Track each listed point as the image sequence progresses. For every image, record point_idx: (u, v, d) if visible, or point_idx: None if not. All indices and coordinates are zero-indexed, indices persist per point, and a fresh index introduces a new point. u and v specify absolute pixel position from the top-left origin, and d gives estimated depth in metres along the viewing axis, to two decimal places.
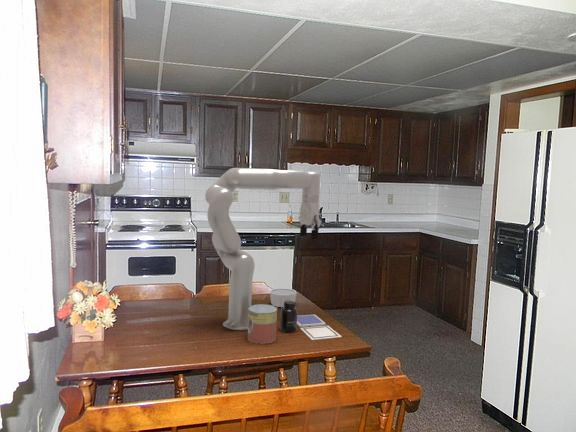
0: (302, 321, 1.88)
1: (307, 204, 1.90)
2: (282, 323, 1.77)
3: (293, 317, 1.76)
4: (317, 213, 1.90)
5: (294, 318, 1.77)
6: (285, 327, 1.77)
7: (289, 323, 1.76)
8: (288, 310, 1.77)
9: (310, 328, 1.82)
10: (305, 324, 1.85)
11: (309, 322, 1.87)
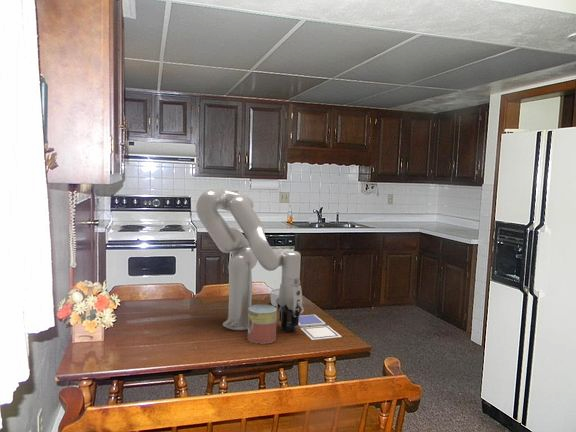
0: (302, 321, 1.88)
1: None
2: (282, 323, 1.77)
3: None
4: None
5: None
6: (285, 327, 1.77)
7: (289, 323, 1.76)
8: (288, 310, 1.77)
9: (310, 328, 1.82)
10: (305, 324, 1.85)
11: (309, 322, 1.87)
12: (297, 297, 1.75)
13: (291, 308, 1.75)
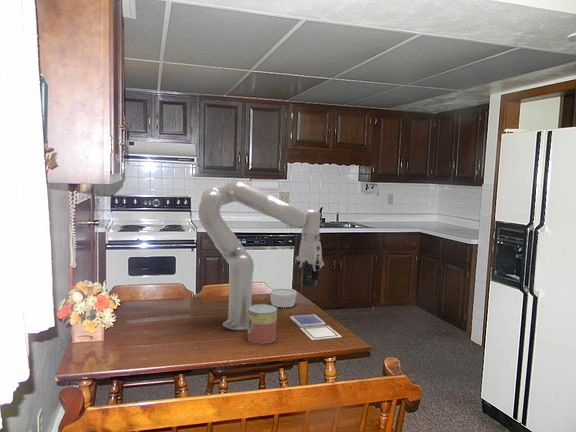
0: (302, 321, 1.88)
1: None
2: (303, 278, 1.86)
3: None
4: None
5: None
6: (305, 281, 1.86)
7: (310, 277, 1.85)
8: (309, 265, 1.86)
9: (310, 328, 1.82)
10: (305, 324, 1.85)
11: (309, 322, 1.87)
12: (317, 252, 1.84)
13: (311, 263, 1.84)
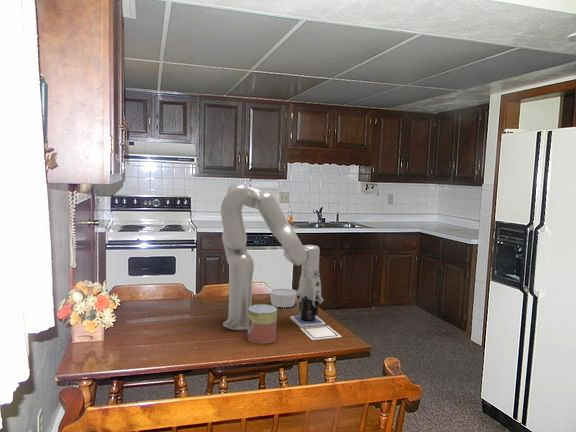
0: (302, 321, 1.88)
1: None
2: (303, 313, 1.89)
3: None
4: None
5: None
6: (305, 316, 1.88)
7: (309, 312, 1.88)
8: (308, 300, 1.88)
9: (310, 328, 1.82)
10: (305, 324, 1.85)
11: (309, 322, 1.87)
12: (316, 288, 1.86)
13: (311, 298, 1.87)
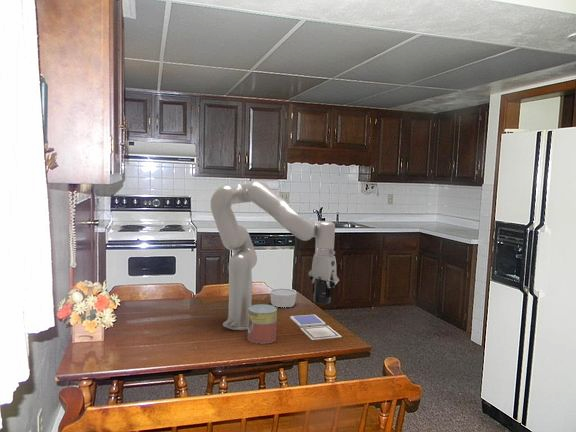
0: (302, 321, 1.88)
1: None
2: (317, 294, 1.74)
3: None
4: None
5: None
6: (319, 298, 1.74)
7: (324, 294, 1.73)
8: (322, 281, 1.74)
9: (310, 328, 1.82)
10: (305, 324, 1.85)
11: (309, 322, 1.87)
12: (332, 268, 1.72)
13: (326, 279, 1.72)
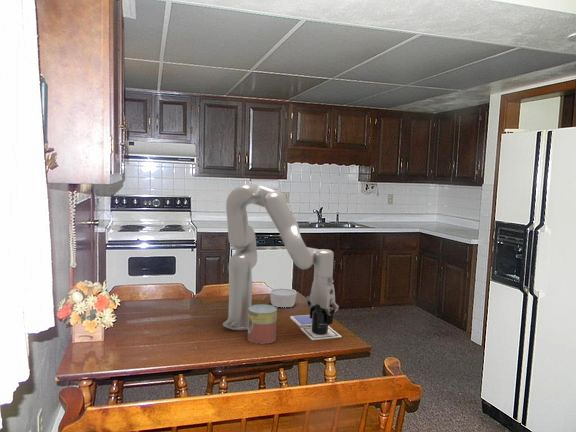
0: (302, 321, 1.88)
1: None
2: (314, 325, 1.76)
3: (325, 319, 1.75)
4: None
5: None
6: (317, 329, 1.75)
7: (321, 325, 1.75)
8: (320, 312, 1.75)
9: (310, 328, 1.82)
10: (305, 324, 1.85)
11: (309, 322, 1.87)
12: (330, 296, 1.73)
13: (324, 307, 1.73)
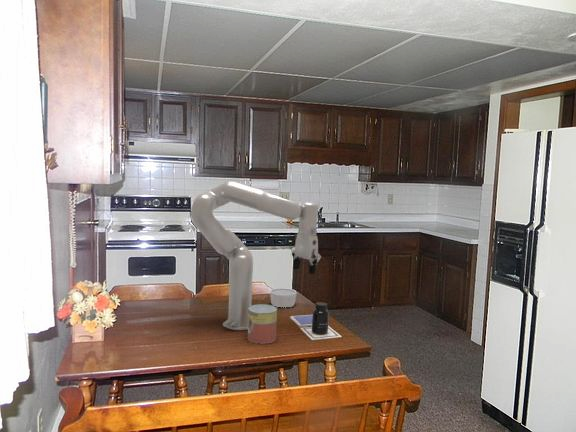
0: (302, 321, 1.88)
1: None
2: (314, 325, 1.76)
3: (325, 319, 1.75)
4: None
5: (326, 320, 1.75)
6: (317, 329, 1.75)
7: (321, 325, 1.75)
8: (320, 312, 1.75)
9: (310, 328, 1.82)
10: (305, 324, 1.85)
11: (309, 322, 1.87)
12: (313, 246, 1.78)
13: (307, 257, 1.79)
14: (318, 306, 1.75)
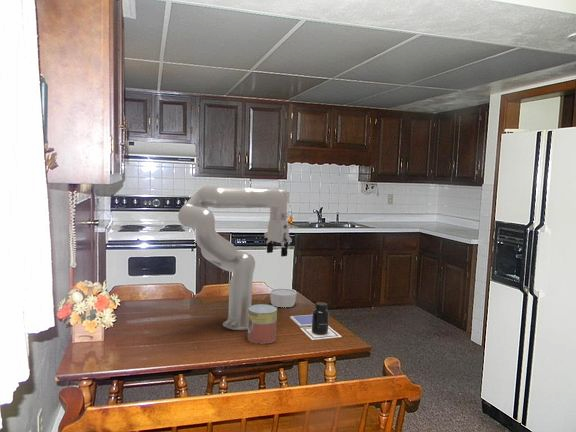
0: (302, 321, 1.88)
1: None
2: (314, 325, 1.76)
3: (325, 319, 1.75)
4: None
5: (326, 320, 1.75)
6: (317, 328, 1.75)
7: (321, 325, 1.75)
8: (320, 312, 1.75)
9: (310, 328, 1.82)
10: (305, 324, 1.85)
11: (309, 322, 1.87)
12: (284, 230, 1.90)
13: (279, 240, 1.91)
14: (318, 306, 1.75)
